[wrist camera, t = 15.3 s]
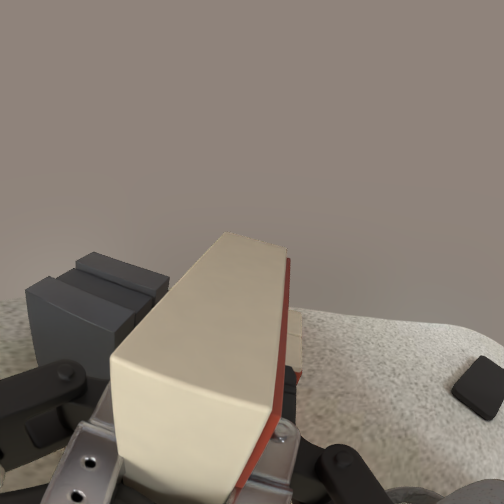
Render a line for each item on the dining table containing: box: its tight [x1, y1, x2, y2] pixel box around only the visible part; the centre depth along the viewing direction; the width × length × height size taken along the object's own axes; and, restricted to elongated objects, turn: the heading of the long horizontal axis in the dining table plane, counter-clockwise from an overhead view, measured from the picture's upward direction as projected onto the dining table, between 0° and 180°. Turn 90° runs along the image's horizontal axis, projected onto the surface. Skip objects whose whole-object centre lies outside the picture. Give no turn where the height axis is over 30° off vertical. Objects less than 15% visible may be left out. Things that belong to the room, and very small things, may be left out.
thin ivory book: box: [110, 232, 290, 504], centre depth 9 cm, size 3×8×11 cm, turn 172°
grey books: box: [25, 252, 170, 380], centre depth 20 cm, size 7×9×8 cm
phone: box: [451, 356, 504, 421], centre depth 28 cm, size 7×1×15 cm
